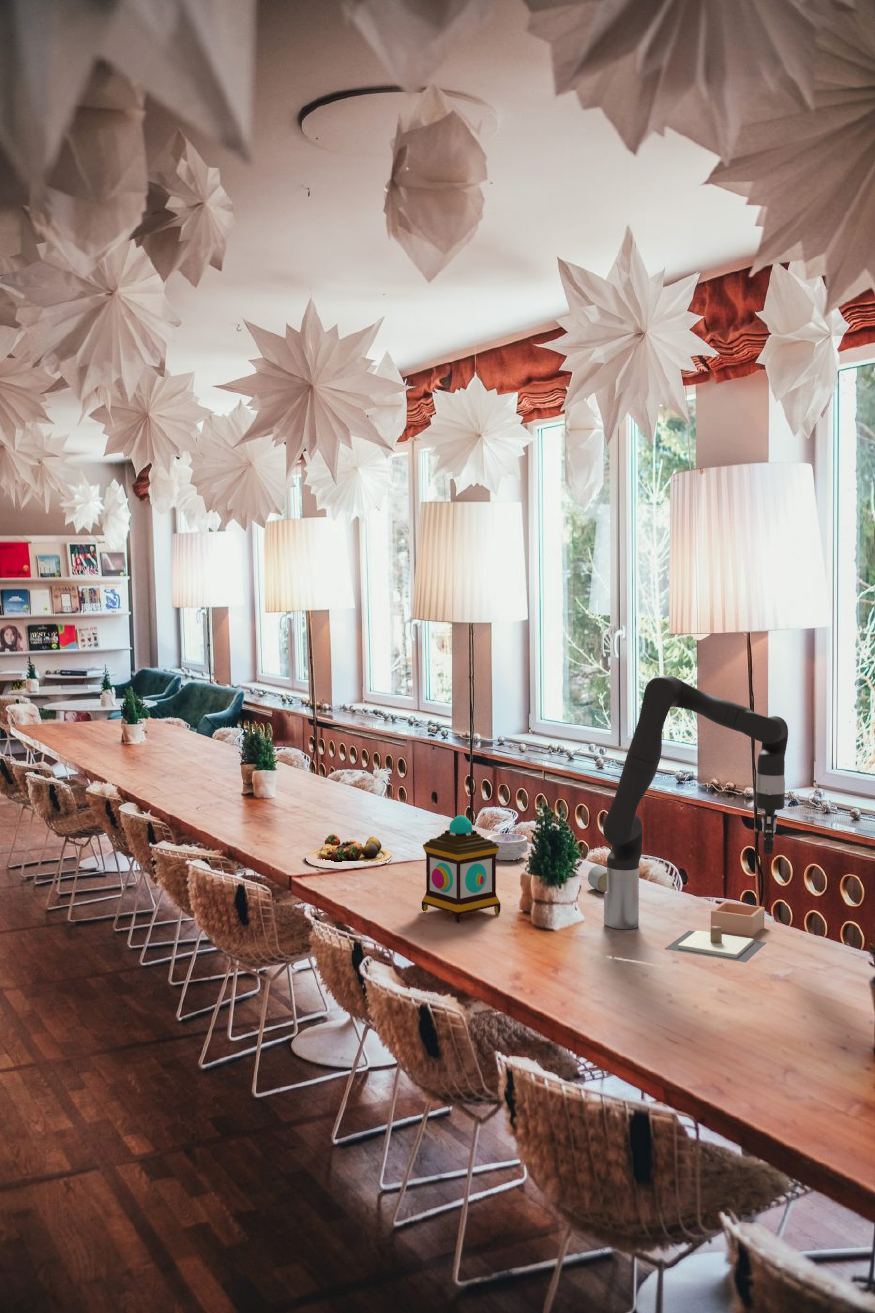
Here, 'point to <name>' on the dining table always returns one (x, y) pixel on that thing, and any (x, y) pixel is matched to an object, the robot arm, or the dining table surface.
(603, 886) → the ceramic mug
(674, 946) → the rubber mat
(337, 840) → the wooden plate with food
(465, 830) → the decorative lantern
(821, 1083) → the dining table surface
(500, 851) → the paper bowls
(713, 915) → the terracotta dish
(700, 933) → the cream lid
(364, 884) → the dining table surface
